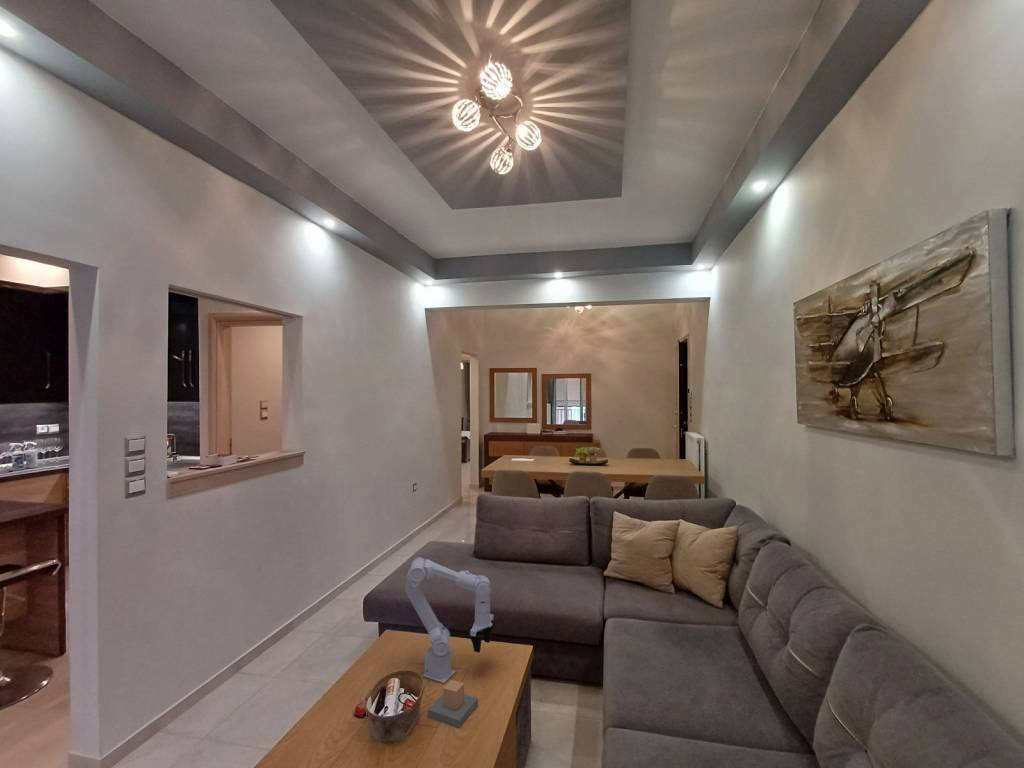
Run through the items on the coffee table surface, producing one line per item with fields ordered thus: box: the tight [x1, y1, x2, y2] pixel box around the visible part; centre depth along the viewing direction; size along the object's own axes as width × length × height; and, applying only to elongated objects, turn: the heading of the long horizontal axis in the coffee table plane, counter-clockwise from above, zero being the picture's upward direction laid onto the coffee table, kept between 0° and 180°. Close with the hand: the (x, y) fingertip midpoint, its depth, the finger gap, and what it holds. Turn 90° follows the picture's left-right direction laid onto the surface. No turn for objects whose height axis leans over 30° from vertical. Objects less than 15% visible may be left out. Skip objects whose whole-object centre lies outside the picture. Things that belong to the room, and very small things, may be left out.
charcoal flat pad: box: [427, 693, 479, 729], centre depth 159 cm, size 12×12×3 cm
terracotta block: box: [442, 679, 465, 710], centre depth 159 cm, size 5×5×6 cm
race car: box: [354, 697, 368, 718], centre depth 161 cm, size 13×5×4 cm, turn 132°
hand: (482, 646), depth 181 cm, fingers open, 7 cm apart
